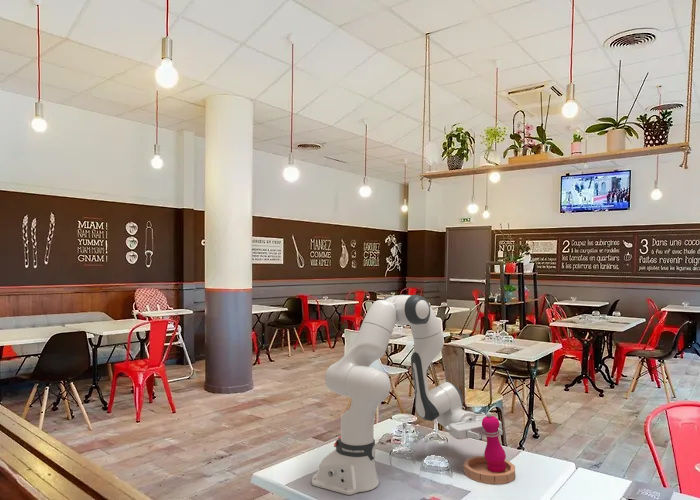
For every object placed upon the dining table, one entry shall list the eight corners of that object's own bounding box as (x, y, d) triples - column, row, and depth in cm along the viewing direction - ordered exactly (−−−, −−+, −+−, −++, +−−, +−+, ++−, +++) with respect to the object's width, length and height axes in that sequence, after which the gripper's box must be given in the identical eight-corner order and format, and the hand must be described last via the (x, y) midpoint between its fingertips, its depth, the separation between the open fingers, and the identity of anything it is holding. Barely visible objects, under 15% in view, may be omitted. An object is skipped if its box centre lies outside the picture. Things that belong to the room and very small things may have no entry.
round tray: (461, 480, 165) (461, 471, 165) (467, 461, 181) (467, 453, 181) (514, 487, 159) (514, 478, 159) (515, 467, 175) (515, 459, 175)
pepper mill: (510, 471, 168) (502, 414, 167) (489, 474, 168) (481, 417, 168) (504, 461, 175) (496, 407, 174) (484, 464, 175) (476, 409, 175)
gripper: (441, 418, 178) (466, 430, 165) (486, 411, 187) (512, 421, 174) (442, 436, 178) (466, 449, 165) (486, 428, 186) (512, 439, 174)
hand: (490, 435), depth 170 cm, fingers open, 8 cm apart
